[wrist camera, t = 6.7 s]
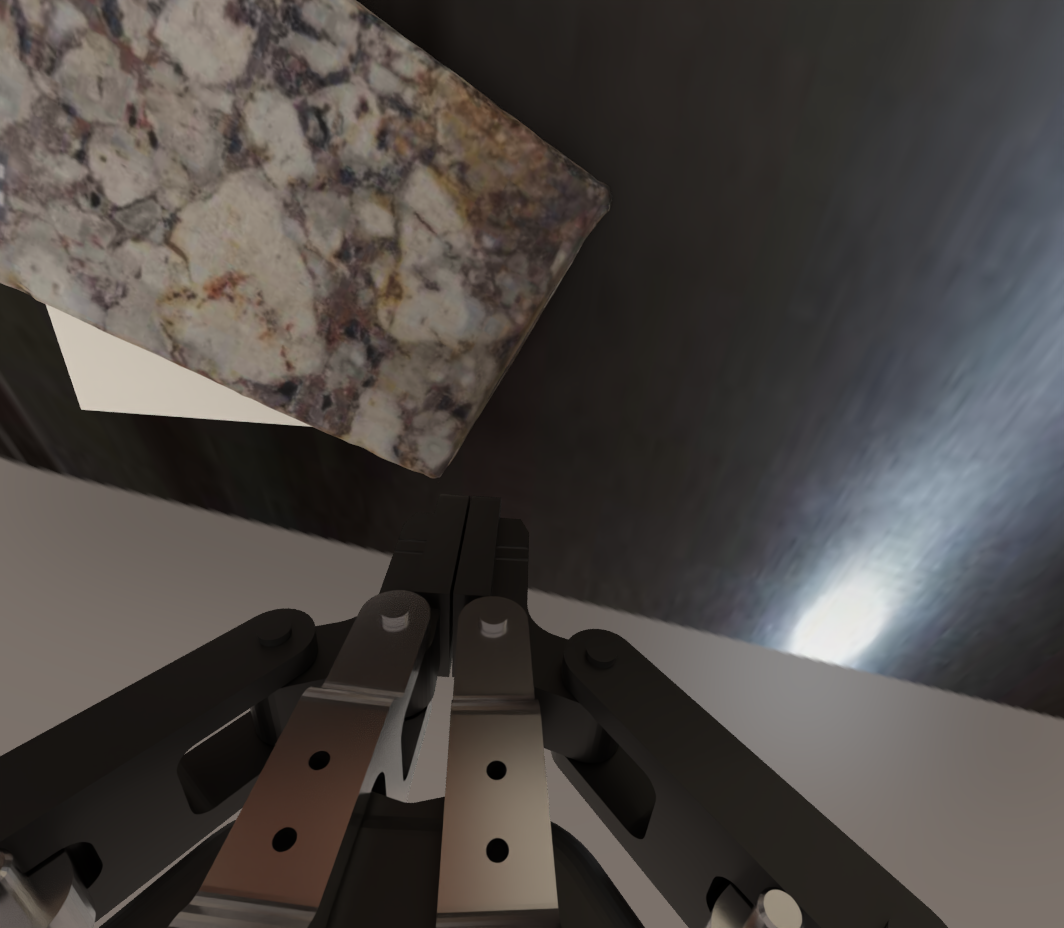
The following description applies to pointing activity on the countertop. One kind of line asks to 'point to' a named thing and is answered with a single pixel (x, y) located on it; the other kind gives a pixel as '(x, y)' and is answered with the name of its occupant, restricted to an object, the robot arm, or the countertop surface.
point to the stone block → (283, 207)
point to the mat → (146, 380)
